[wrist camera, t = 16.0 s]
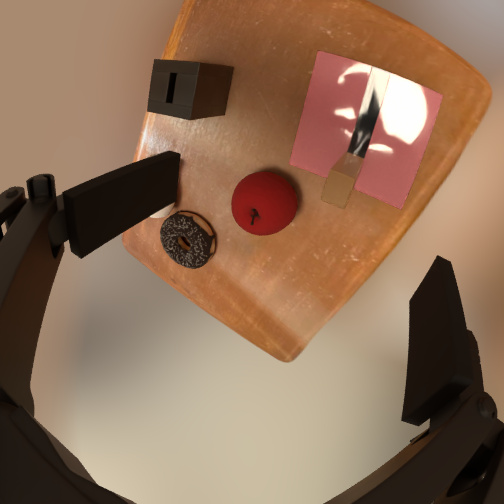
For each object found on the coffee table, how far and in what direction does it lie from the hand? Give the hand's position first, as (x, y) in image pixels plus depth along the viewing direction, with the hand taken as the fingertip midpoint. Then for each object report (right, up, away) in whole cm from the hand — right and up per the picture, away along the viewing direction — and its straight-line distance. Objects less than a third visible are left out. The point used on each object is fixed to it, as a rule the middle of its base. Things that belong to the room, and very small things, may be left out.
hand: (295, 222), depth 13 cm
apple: (+2, +8, +32) cm, 33 cm away
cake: (+13, +16, +21) cm, 29 cm away
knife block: (-9, +25, +28) cm, 38 cm away
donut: (-13, +2, +44) cm, 46 cm away
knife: (+12, +12, +23) cm, 28 cm away
